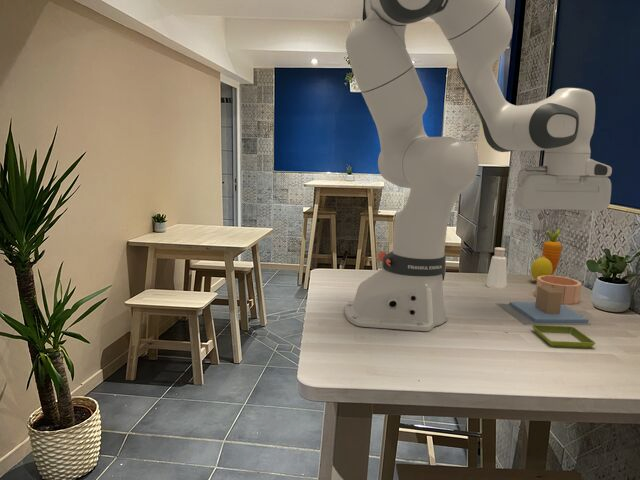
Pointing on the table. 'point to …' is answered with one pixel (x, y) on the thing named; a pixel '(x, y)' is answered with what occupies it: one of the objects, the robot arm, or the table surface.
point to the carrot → (552, 250)
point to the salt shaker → (497, 270)
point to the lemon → (541, 267)
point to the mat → (526, 320)
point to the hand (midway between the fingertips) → (557, 229)
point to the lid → (548, 308)
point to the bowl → (562, 287)
